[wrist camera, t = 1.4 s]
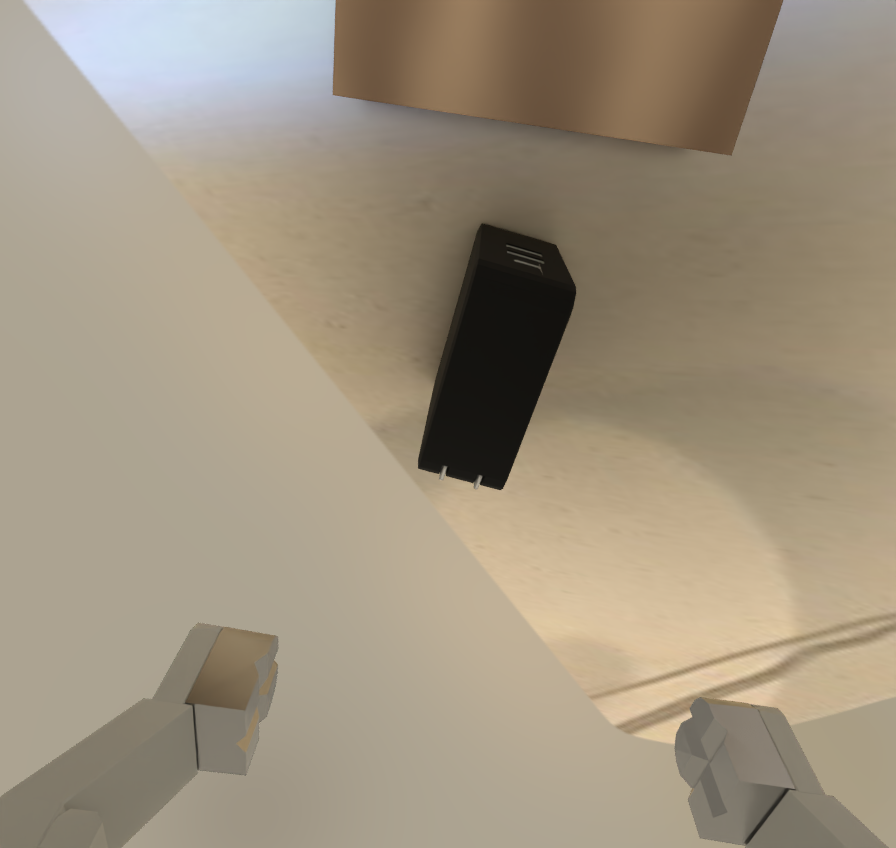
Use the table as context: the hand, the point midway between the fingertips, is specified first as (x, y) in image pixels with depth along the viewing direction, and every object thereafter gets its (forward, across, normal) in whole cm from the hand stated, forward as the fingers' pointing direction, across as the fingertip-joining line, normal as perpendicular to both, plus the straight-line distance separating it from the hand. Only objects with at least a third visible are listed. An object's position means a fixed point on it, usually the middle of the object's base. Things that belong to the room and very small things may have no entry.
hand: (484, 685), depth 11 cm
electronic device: (+25, -1, 0) cm, 25 cm away
